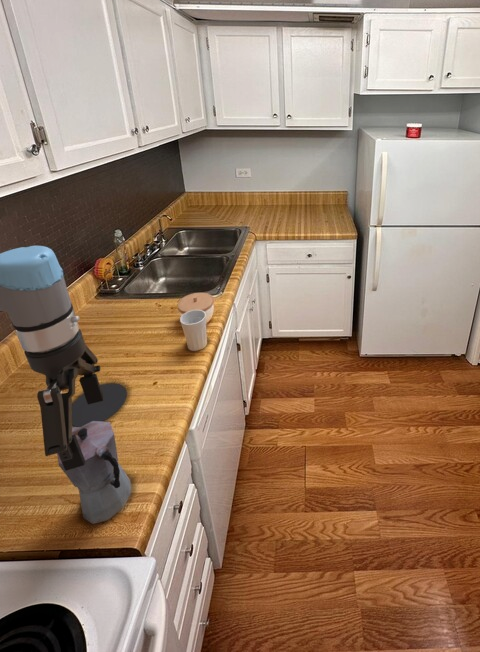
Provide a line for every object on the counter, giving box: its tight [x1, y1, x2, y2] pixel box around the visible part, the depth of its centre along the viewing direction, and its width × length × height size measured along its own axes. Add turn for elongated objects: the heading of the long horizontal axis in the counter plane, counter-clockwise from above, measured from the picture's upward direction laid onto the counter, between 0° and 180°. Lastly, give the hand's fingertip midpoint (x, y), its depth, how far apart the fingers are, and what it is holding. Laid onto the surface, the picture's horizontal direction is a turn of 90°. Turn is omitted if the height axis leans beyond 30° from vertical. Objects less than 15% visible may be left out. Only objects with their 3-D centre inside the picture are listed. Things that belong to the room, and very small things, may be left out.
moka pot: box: [56, 421, 132, 525], centre depth 66 cm, size 10×15×20 cm, turn 69°
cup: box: [179, 310, 208, 352], centre depth 110 cm, size 8×8×12 cm
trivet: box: [72, 382, 128, 427], centre depth 90 cm, size 14×14×1 cm
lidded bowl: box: [177, 292, 215, 324], centre depth 123 cm, size 13×13×11 cm
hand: (86, 430), depth 62 cm, fingers open, 13 cm apart
